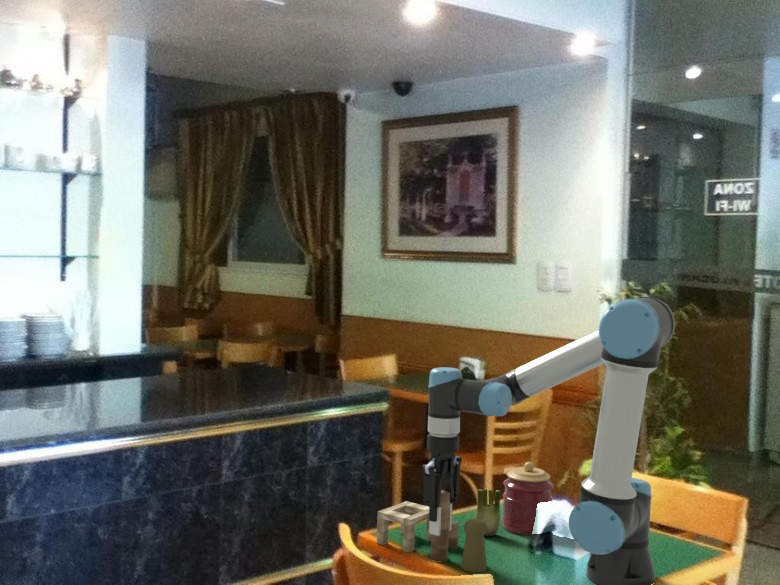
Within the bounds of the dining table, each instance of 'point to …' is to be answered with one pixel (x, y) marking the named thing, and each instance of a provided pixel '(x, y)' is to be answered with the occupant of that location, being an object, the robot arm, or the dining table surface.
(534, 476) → the canister
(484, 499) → the fennel bulb
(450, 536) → the short pin
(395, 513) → the open square stand
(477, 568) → the olive tapered knobbed peg
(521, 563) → the dining table surface
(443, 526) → the long pin
